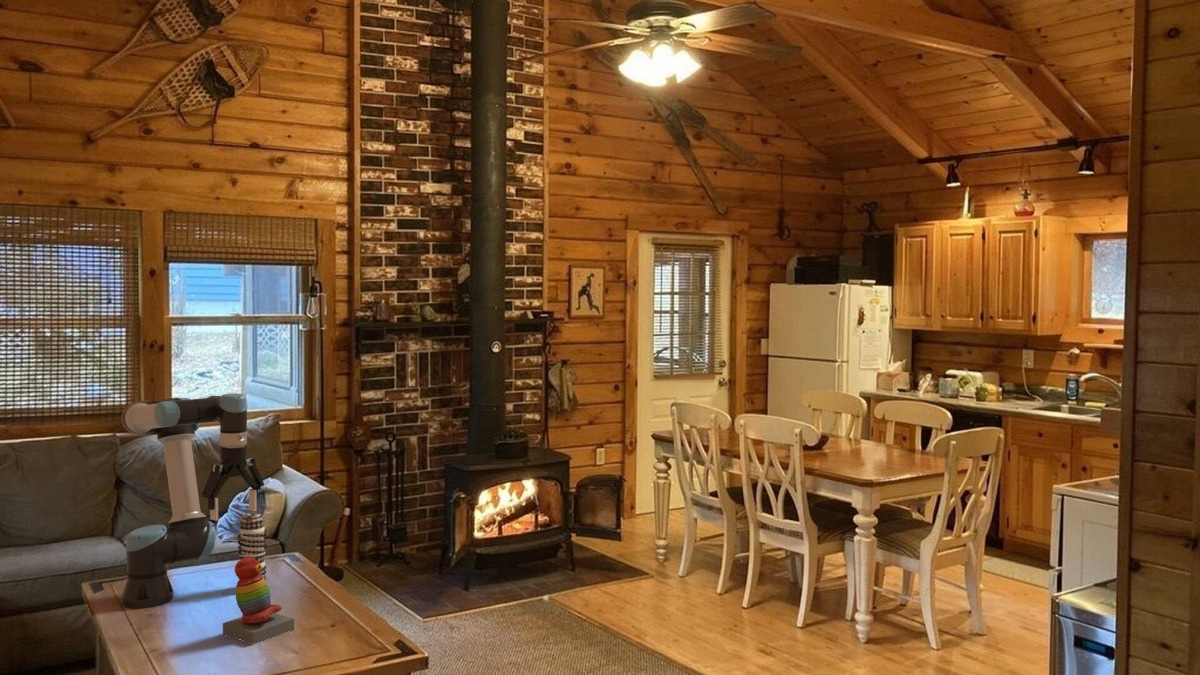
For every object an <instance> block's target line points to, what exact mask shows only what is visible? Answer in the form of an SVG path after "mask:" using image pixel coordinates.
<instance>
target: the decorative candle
mask: <svg viewBox="0 0 1200 675" xmlns="http://www.w3.org/2000/svg"><path fill="white" fill-rule="evenodd" d="M264 519H265V516H263V515H262V514H261V513H260V512H257V511H251V512H247V513H244V514H242V516H241V517H240V518H239V519H238V521H239V534H238V535H237V539H238V540H237V544H238V545H239V546H238V547H237V548H238V556H240V560H242V559H244V558H246V557H247V556H249V557H250V558H254V559H255V560H257V561H258V562H259V563H260V564H261V571H260V573H259V574H261V575H262V576H263V578H264V579H265V581H266V582H267V580H266V579H267V575H266V574H267V571H266V569H267V566H266V561H265V554H266V553H267V550H266V549H265V547H266V546H267V544H266V543H265V542H267V539H266V538H265V537H266V536H268V535H267V533H266V532H267V528H265V522H264V521H265V520H264ZM239 580H240V579H239V578H238V581H239Z"/></svg>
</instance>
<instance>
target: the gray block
mask: <svg viewBox="0 0 1200 675" xmlns="http://www.w3.org/2000/svg"><path fill="white" fill-rule="evenodd" d="M290 630H293V631H295V618H293V617H291V616H286V615H282V614H279V613H274V614H272V615H270V616H269V618H268V619H266V620H264V621H261V622H256V623H243V622H242V616H240V617H237V618H234V619H231V620H228V621H225V622H222V635H223V636H225V635H227V636H226V637H228V636H230V637H229V638H231V637H234V638H233V639H235V638H237V639H236V640H238V639H241V640H244V641H247V642H250V643H253V644H255V643H258V642H260V643H262V642H261V641H263V642H265V641H264V640H266V639H269V638H271V639H273V638H272V637H274V638H276V637H275V636H277V635H279V636H281V635H280V634H282V633H285V632H288V631H290ZM290 632H291V631H290ZM288 633H289V632H288ZM285 634H286V633H285ZM282 635H283V634H282ZM277 637H278V636H277ZM241 640H240V641H241ZM269 640H270V639H269ZM244 641H243V642H244ZM266 641H267V640H266ZM247 642H246V643H247ZM250 643H249V644H250ZM253 644H252V645H253ZM258 644H259V643H258ZM255 645H256V644H255Z"/></svg>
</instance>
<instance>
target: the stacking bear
mask: <svg viewBox="0 0 1200 675" xmlns="http://www.w3.org/2000/svg"><path fill="white" fill-rule="evenodd" d="M260 571H261V564H260V563H259V562H258V561H257V560H255V559H254V558H250V557H249V556H247V557H246V558H244V559H242V560H241V559H240V560H238V561H237V563H236V564H235V566H234V573H235V576H236V577H237V578H238V580H237V583H236V585H235V601H236V604H237V606H238V608H239V611H240V612H241V614H242V616H241V617H242V622H243V623H256V622H261V621H264V620H266V619H268V618H269V616H270V615H272V614H274V613H276V614H278V612H280V611H282V606H281V605H280V604H275V603H274V604H271V602H272V601H271V592H270V588H269V585H268V584H267V580H266V579H264V578H263V576H262V575H261V574H259V573H260ZM239 579H240V580H239ZM265 580H266V581H265Z"/></svg>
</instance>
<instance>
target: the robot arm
mask: <svg viewBox="0 0 1200 675" xmlns="http://www.w3.org/2000/svg"><path fill="white" fill-rule="evenodd" d="M208 423H209V424H210V423H219V424H220V425H219V427H220V428H219V432H220V433H219V445H220V447H219V448H220V449H219V450H220V451H219V452H220V453H219V457H220V460H221V462H220V464H215V463H213V464H211V466H210V467H211V468H210V473H209V476H208V478H207V480H206V482H205V486H204V488H203V491H202V493H201V497H202V498H204V499H205V498H206V499H207V508H208V510H209V515H210V516H209V519H210V520H212V521H216V522H217V521H219V498H217V496H218V495H219V493H220V491H221V490H222V488H223V487H224V485H225V484H226V482H227V481H228V480H229V479H230V478H234V477H240V476H241V478H242V479H243V480H244V481H245V482H246V483H247V485H248V486H249V487H250V488H248V511H251V512H258V511H257V504H258V502H257V500H259V491H260V490H261V489H262V487H264V486H265V482H264V480H263V478H262V476H261V474H260V472H259V469H258V467H257V465H256V459H255V458H253V457H248V447H247V446H246V445H247V443H248V432H247V431H248V429H247V428H248V426H247V424H248V402H247V396H246V395H245V394H243V393H238V392H237V393H231V392H230V393H225V394H222V395H210V396H207V397H203V398H192V399H191V398H188V397H172V398H162V399H161V398H159V399H151V400H150V399H148V400H140V401H136V402H133V403H131V404H130V405H128V406H127V407H126V408H125V409H124V410H123V412H122V415H121V424H122V426H123V428H124V429H125V430H126V431H127V432H129V433H130V434H133V435H137V436H144V437H145V436H147V437H149V436H156V437H157V438H156V439H157V441H158V442H159V443H160V444H161V445H162V446H163V451H164V460H165V467H166V468H165V469H166V474H167V482H168V489H169V490H168V491H169V498H170V505H171V506H170V507H171V513H172V514H171V516H172V517H171V518H170V520H169V521H168V527H167V526H166V525H164V524H159V523H158V524H149V525H144V526H142V527H138V528H136V529H134V530H132V531H130V532H129V533H128V535H127V536H126V546H125V551H126V575H127V576H126V582H125V586H124V588H123V591H122V594H121V606H123V607H125V608H132V609H142V608H143V609H145V608H153V607H156V606H162V605H164V604H167V603H170V602H171V601H172V600H173V599H174V589H173V586H172V584H171V581H170V578H169V574H168V565H174V564H179V563H180V564H181V563H184V562H185V563H186V562H190V561H197V560H200V559H204V558H207V557H208V556H210V555H211V554H212V553H213V551H214V548H215V546H216V536H217V535H216V528H215V525H214V523H213V522H212V521H210V520H207V515H205V514H204V513H203V512H202V511H201V505H200V498H199V497H200V496H199V489H198V483H197V476H196V474H197V473H196V469H195V468H196V466H195V462H194V461H195V460H194V452H193V445H192V440H193V439H194V437H196V432H197V431H198V430H199V429H200V426H201V424H208ZM246 467H247V468H248V470H247V469H246ZM249 472H250V474H249Z"/></svg>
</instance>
